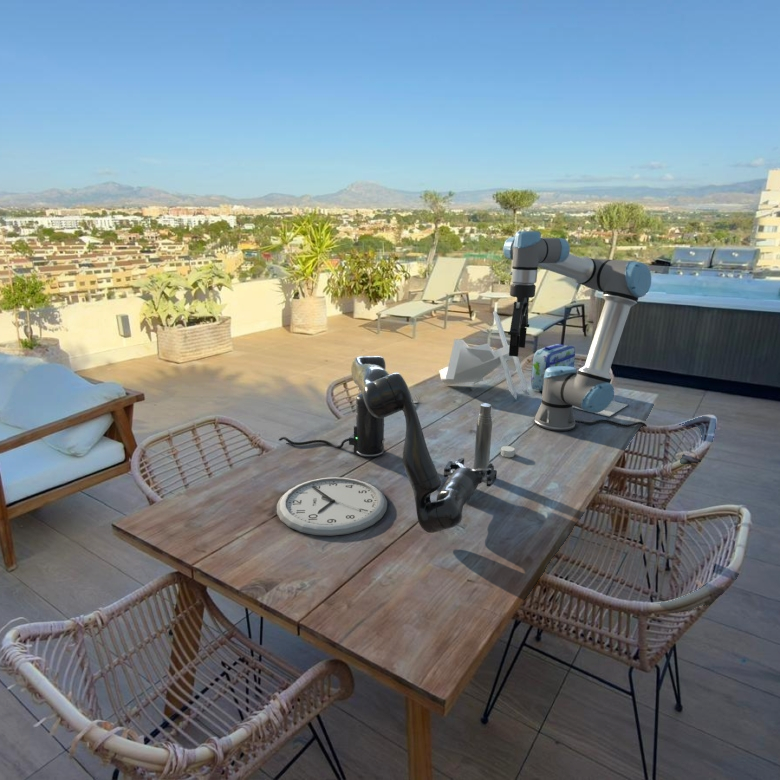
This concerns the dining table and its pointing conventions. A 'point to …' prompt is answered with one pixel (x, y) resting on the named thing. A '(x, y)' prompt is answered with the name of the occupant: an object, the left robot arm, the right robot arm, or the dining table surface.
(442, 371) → the white plastic object
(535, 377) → the lunch box
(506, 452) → the cap
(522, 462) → the dining table surface
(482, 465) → the bottle
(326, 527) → the wall clock
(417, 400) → the fork
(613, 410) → the invitation card
